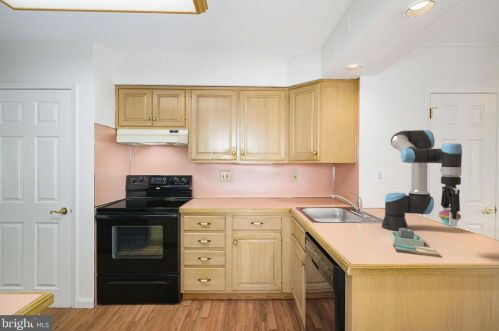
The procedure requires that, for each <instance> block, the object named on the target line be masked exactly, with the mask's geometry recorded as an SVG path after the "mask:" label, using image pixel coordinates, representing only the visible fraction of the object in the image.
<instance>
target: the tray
mask: <svg viewBox="0 0 499 331" xmlns="http://www.w3.org/2000/svg"><path fill="white" fill-rule="evenodd" d="M389 233H390V234H389V236H390V239H391V240H392V243H395V244H404V245H414V246H423V247H425V241H424V240H423V238H421V236H420V235H419V234H418V233H414V239H405V238H399V231H394V230H390V231H389Z"/></svg>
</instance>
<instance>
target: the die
mask: <svg viewBox="0 0 499 331" xmlns="http://www.w3.org/2000/svg"><path fill="white" fill-rule="evenodd" d="M398 232H399V238H405V239H414V234H415V232H414V230H413V229H412V228H409V227H408V228H399V231H398Z"/></svg>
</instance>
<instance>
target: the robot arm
mask: <svg viewBox="0 0 499 331" xmlns="http://www.w3.org/2000/svg"><path fill="white" fill-rule="evenodd" d="M435 140H436V139H435V136H434V134H433V132H432V131H431V130H427V129H426V130H425V129H422V130H421V129H417V130H401V131H398V132H396V133H394V134H393V135H392V136H391V138H390V144H391V147H393V148H394V149H395V150H398V151H399V152H400V159H401V160H400V161H401V162H403V163H406V164H407V163H408V164H411V190H410V191H409V192H408V194H406V192H390V193H387V194H385V199H384V202H385V203H384V217H383V219H382V222H381V227H382V229H385V230H388V231H389V230H390V231H393V232H399V228H408V229H409V227H408V226H409V225H408V223H407V220H406V214H416V215H429V214H431V213H432V212H433V210H434V207H435V201H434V197H433V196H431V193H430V192H429V191H428V165H429V164H441V168H440V169H439V171H440V172H441V173H440V175H441V177H440V183H441V184H442V185H444V186H442V187H441V189H442V190H441V191H442V192H441V200H440V206H441V208H442V211H445V210H449V212H450V218H449V225H450V226H449V227H457V226H458V221H457V213H459V212H461V207H460V206H461V203H460V202H461V201H460V193H461V192H460V191H461V190H460V189H457V186H460V185H461V184H462V177H461V176H462V169H463V168H462V163H463V162H462V160H463V159H462V158H463V157H462V156H463V145H462V143H443V144H442V145H441V148H434V147H435V143H436V142H435Z"/></svg>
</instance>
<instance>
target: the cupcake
mask: <svg viewBox="0 0 499 331" xmlns="http://www.w3.org/2000/svg"><path fill="white" fill-rule="evenodd" d="M437 216H438V217H439V218H440V220H441V222H442V224H443V226H447V227H451V226H450V225H449V218H450V212H449V210H445V211H443V210H442V211H440V212H438V215H437ZM461 218H462V215H461V214H460V213H459V212H457V222H458V221H459V220H461Z"/></svg>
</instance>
